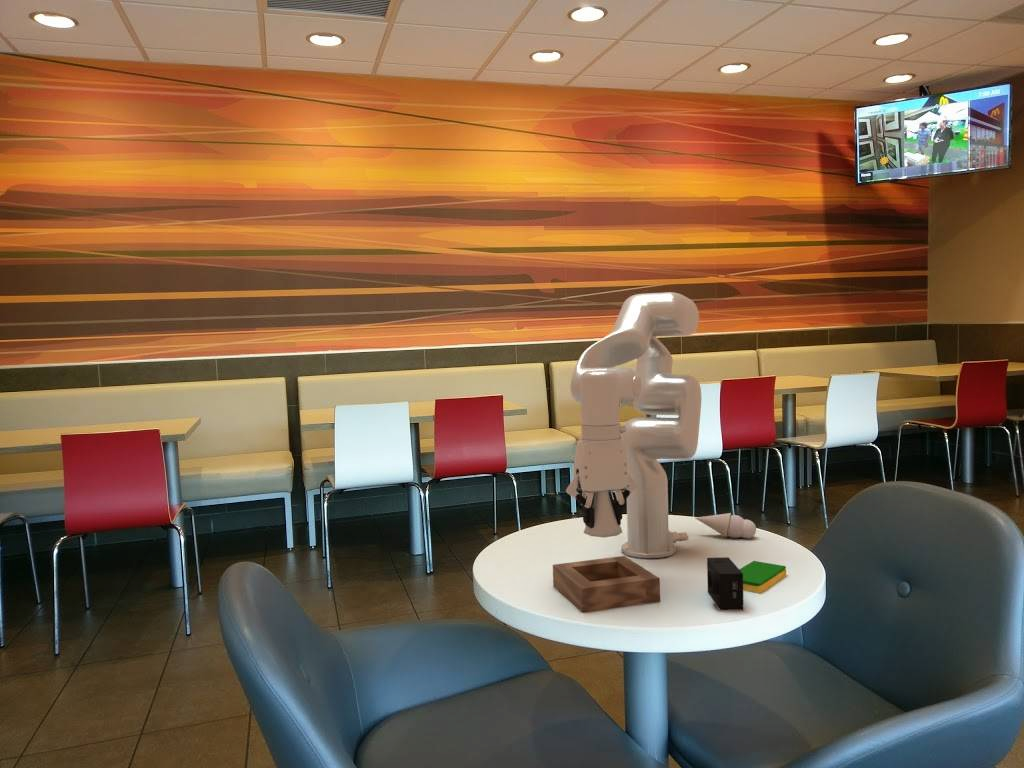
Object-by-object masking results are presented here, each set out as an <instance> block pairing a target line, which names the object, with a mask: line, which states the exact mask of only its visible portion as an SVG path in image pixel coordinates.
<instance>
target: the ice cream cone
mask: <svg viewBox="0 0 1024 768" xmlns="http://www.w3.org/2000/svg"><path fill="white" fill-rule="evenodd" d="M694 519H696V520H697V521H699V522H701V523H702V524H703V525H706V526H707V527H709V528H711V529H712V530H713V531H715V532H717V533H718V534H719V535H720V534H721V536H724V537H725V538H728V536H729V537H730V538H733V539H738V538H743V539H751V538H753V537H755V535H756V533H757V526H756V524H755V522H753V521H752V520H750V519H744V518H743V517H741V516H740V515H736V514H732V512H727V513H721V514H713V515H707V516H705V515H704V516H699V517H698V516H697V517H694Z"/></svg>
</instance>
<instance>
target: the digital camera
mask: <svg viewBox="0 0 1024 768" xmlns="http://www.w3.org/2000/svg"><path fill="white" fill-rule="evenodd" d="M706 563H707V564H706V565H707V566H706V569H707V571H706V572H707V573H706V574H707V575H706V577H707V593H708V594H709V596H710V597H711V599H712V600H713V602H714V603H715V605H716V606H717V608H718V609H719V611H744V590H743V573H742V572H741V571H740V570H739V569H740V568H738V566H737V564H735V563H734V562H733V560H731V558H730V557H728V556H724V557H723V556H722V557H707V558H706Z"/></svg>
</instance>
